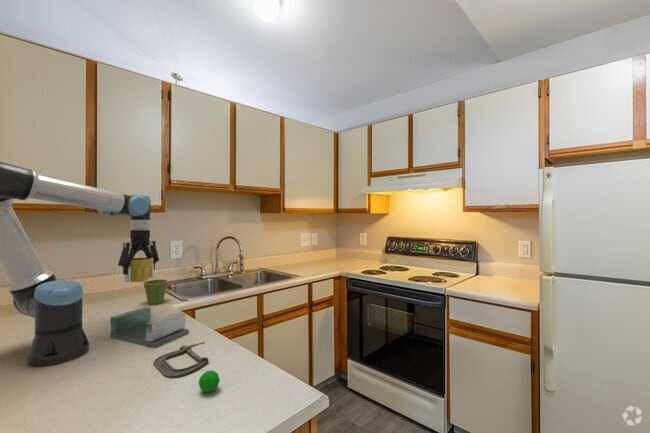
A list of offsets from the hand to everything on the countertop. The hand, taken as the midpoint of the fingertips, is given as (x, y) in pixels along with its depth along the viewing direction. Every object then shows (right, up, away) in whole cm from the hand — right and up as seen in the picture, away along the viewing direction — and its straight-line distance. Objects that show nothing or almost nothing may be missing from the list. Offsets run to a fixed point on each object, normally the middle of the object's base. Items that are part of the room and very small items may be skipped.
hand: (139, 279), depth 133 cm
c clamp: (+39, -18, -39) cm, 57 cm away
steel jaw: (+23, -15, -22) cm, 36 cm away
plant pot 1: (0, -1, 0) cm, 1 cm away
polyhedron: (+52, -17, -56) cm, 78 cm away
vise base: (+16, -17, -19) cm, 30 cm away
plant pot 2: (-7, -18, +26) cm, 32 cm away
